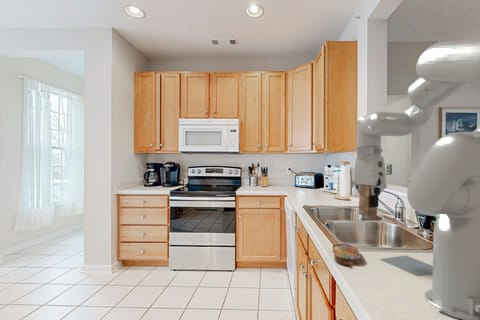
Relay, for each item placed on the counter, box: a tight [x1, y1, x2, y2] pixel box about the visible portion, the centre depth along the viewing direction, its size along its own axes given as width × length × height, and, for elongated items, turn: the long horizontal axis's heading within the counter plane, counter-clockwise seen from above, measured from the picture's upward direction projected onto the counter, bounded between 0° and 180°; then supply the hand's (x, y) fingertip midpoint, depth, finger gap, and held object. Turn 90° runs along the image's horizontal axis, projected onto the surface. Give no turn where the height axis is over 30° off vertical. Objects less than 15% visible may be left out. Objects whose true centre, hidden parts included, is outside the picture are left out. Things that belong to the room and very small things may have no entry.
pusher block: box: [358, 184, 378, 217], centre depth 94 cm, size 4×4×14 cm
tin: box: [332, 243, 362, 266], centre depth 96 cm, size 15×3×8 cm
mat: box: [379, 255, 433, 277], centre depth 89 cm, size 14×12×1 cm
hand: (368, 205), depth 94 cm, fingers closed on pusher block, 4 cm apart
